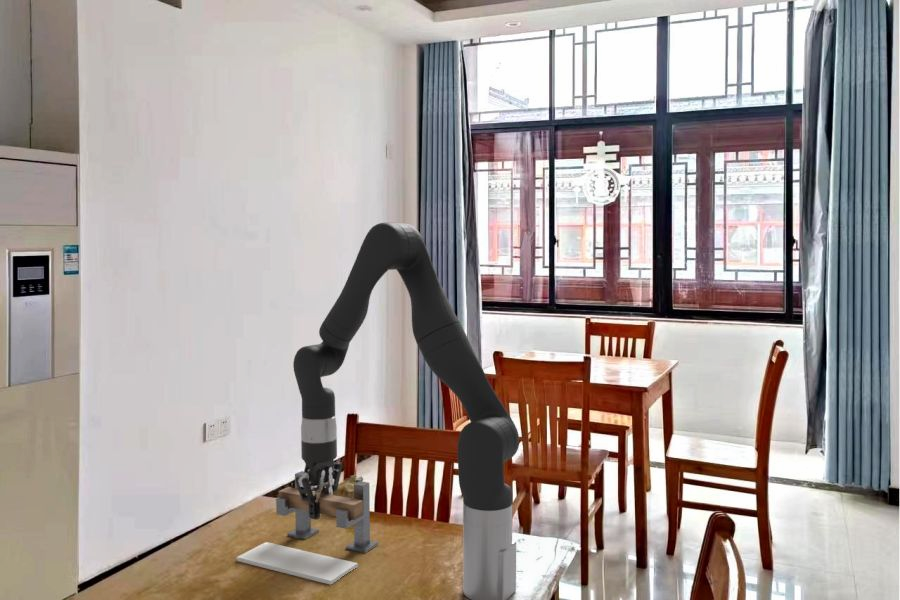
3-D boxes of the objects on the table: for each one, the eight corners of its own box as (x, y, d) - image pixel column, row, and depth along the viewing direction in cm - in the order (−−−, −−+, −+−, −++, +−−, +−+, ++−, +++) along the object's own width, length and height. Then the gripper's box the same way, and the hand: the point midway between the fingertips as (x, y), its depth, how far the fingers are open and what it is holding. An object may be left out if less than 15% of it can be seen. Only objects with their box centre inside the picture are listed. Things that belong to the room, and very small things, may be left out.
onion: (333, 502, 189) (333, 471, 189) (365, 502, 190) (364, 471, 189) (330, 513, 182) (330, 481, 181) (363, 512, 182) (363, 480, 182)
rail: (362, 515, 157) (362, 500, 157) (354, 520, 154) (354, 505, 154) (288, 501, 166) (288, 487, 166) (278, 505, 163) (278, 491, 163)
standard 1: (319, 532, 169) (318, 471, 168) (290, 547, 160) (289, 484, 160) (301, 528, 172) (300, 468, 171) (272, 543, 163) (271, 480, 162)
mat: (357, 567, 151) (357, 563, 151) (331, 584, 143) (331, 580, 143) (266, 545, 162) (266, 541, 162) (236, 560, 154) (236, 557, 154)
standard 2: (378, 544, 162) (377, 481, 161) (351, 562, 153) (350, 495, 152) (359, 540, 164) (358, 478, 163) (331, 557, 155) (331, 491, 154)
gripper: (312, 446, 151) (313, 529, 152) (352, 431, 164) (353, 508, 165) (283, 442, 155) (285, 523, 156) (324, 428, 167) (326, 503, 168)
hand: (320, 515), depth 160 cm, fingers closed on rail, 3 cm apart
